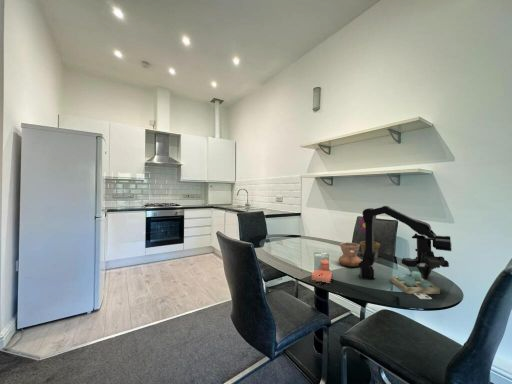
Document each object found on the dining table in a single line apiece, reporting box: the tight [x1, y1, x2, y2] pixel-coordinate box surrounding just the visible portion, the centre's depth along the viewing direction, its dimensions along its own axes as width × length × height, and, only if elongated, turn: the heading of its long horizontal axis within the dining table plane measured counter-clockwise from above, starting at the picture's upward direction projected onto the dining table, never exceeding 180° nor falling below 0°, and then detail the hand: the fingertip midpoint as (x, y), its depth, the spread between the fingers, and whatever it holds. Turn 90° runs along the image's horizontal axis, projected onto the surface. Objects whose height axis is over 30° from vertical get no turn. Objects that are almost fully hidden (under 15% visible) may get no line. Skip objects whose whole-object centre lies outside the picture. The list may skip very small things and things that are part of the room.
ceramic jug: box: [338, 241, 363, 268], centre depth 151 cm, size 18×14×14 cm
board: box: [389, 276, 441, 295], centre depth 113 cm, size 15×15×2 cm
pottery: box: [311, 257, 333, 284], centre depth 129 cm, size 18×10×10 cm, turn 152°
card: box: [413, 293, 433, 300], centre depth 103 cm, size 5×5×1 cm
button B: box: [404, 275, 415, 287], centre depth 110 cm, size 4×4×4 cm
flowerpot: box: [358, 216, 381, 257], centre depth 169 cm, size 14×14×30 cm
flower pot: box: [407, 257, 432, 279], centre depth 127 cm, size 9×9×9 cm
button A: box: [397, 274, 406, 281], centre depth 117 cm, size 4×4×4 cm
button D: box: [420, 280, 431, 287], centre depth 109 cm, size 4×4×4 cm
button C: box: [410, 271, 421, 282], centre depth 116 cm, size 4×4×4 cm
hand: (425, 279), depth 109 cm, fingers closed
